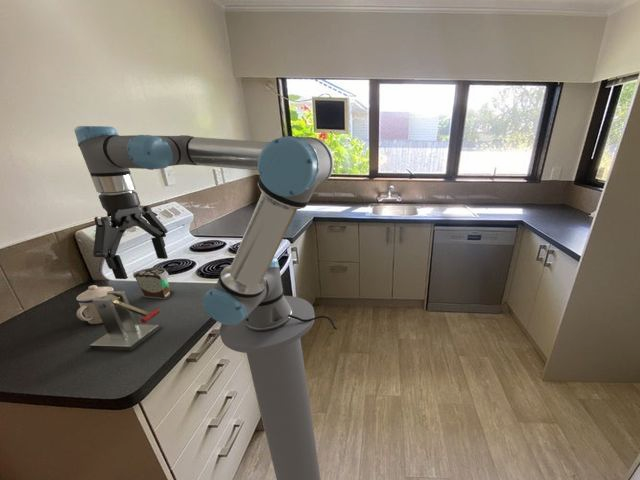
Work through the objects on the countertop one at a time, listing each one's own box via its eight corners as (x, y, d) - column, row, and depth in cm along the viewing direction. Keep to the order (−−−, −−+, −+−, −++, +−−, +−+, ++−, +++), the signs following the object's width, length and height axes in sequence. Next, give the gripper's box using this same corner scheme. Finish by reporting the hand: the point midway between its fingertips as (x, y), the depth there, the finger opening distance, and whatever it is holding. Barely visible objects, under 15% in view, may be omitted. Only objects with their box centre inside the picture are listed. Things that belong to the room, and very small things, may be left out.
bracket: (159, 328, 90) (144, 287, 84) (131, 350, 80) (112, 305, 75) (123, 327, 90) (105, 286, 85) (91, 349, 81) (69, 304, 75)
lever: (159, 315, 85) (160, 308, 84) (145, 325, 80) (146, 318, 79) (114, 297, 83) (114, 291, 82) (97, 307, 78) (97, 300, 78)
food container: (182, 291, 112) (175, 268, 108) (168, 299, 106) (160, 275, 102) (155, 288, 114) (147, 265, 110) (140, 296, 108) (131, 272, 104)
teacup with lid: (103, 309, 100) (90, 280, 95) (130, 308, 100) (118, 279, 96) (70, 331, 89) (53, 298, 84) (100, 330, 89) (85, 297, 85)
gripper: (145, 184, 85) (165, 251, 93) (47, 202, 62) (86, 288, 70) (168, 185, 84) (187, 251, 93) (79, 202, 61) (114, 289, 70)
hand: (143, 267), depth 81 cm, fingers open, 13 cm apart
